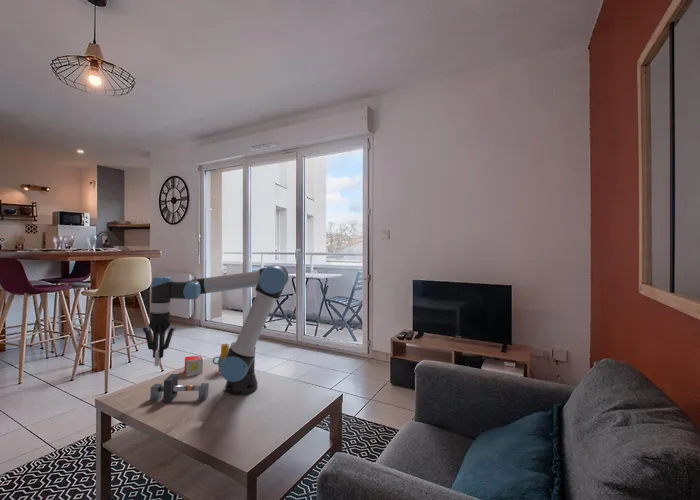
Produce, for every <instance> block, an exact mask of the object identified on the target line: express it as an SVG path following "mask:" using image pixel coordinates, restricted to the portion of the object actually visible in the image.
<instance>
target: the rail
mask: <svg viewBox="0 0 700 500" xmlns="http://www.w3.org/2000/svg"><path fill="white" fill-rule="evenodd" d="M209 387H210V385H209V382H202V383H201V384H200V385H198V384H193V385H190V384H189V385H187V384H186V385H180V384H179V385H178V386H173V387H172V391H178V392H198V397H197V398H198V401H206V400H207V398H208V397H209V389H210V388H209ZM163 391H164V385H163V383H154V384H153V385H152V386H151V387H150V394H149V396H150V397H149V399H150V400H149V401H150V402H158V401H159V400H160V399H161V398H163V397H162V396H163Z"/></svg>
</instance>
